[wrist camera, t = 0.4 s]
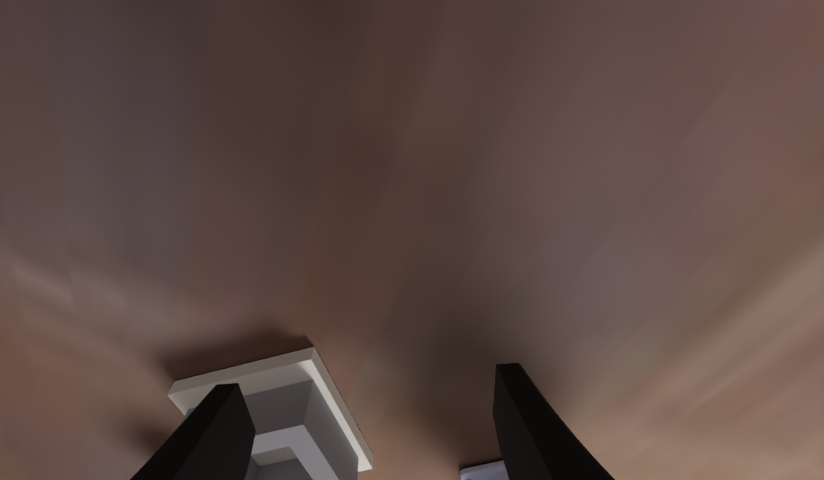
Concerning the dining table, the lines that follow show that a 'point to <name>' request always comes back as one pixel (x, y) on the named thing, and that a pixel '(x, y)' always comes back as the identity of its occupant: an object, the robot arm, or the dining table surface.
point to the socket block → (289, 417)
